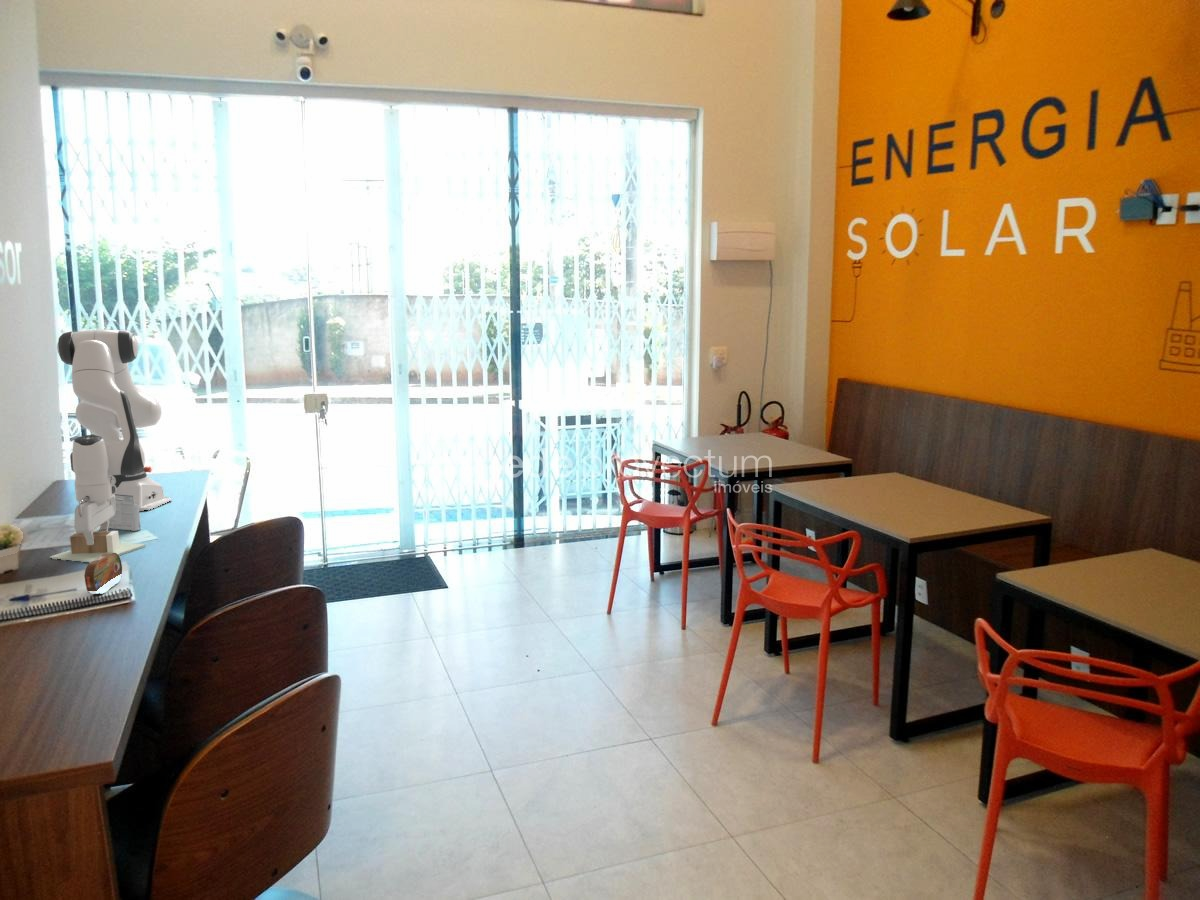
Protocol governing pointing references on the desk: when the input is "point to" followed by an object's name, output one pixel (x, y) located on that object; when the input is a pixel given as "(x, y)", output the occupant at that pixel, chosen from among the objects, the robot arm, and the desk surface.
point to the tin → (102, 571)
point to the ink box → (125, 514)
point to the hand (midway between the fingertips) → (97, 539)
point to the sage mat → (91, 557)
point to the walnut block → (103, 542)
